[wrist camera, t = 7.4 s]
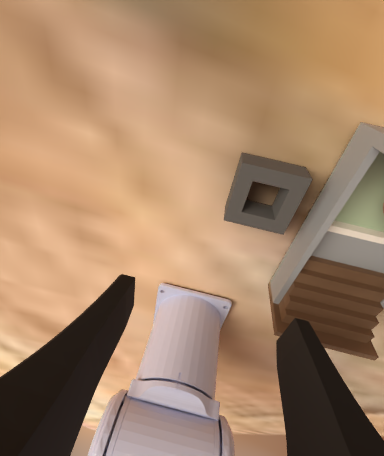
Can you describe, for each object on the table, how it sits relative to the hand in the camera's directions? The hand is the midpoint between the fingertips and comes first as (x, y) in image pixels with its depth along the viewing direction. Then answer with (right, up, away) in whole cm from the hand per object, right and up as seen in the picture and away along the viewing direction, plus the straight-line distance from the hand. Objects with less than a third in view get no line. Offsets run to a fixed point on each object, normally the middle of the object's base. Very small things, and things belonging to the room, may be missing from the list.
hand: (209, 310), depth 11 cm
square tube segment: (+4, +7, +7) cm, 10 cm away
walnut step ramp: (+11, 0, +10) cm, 15 cm away
